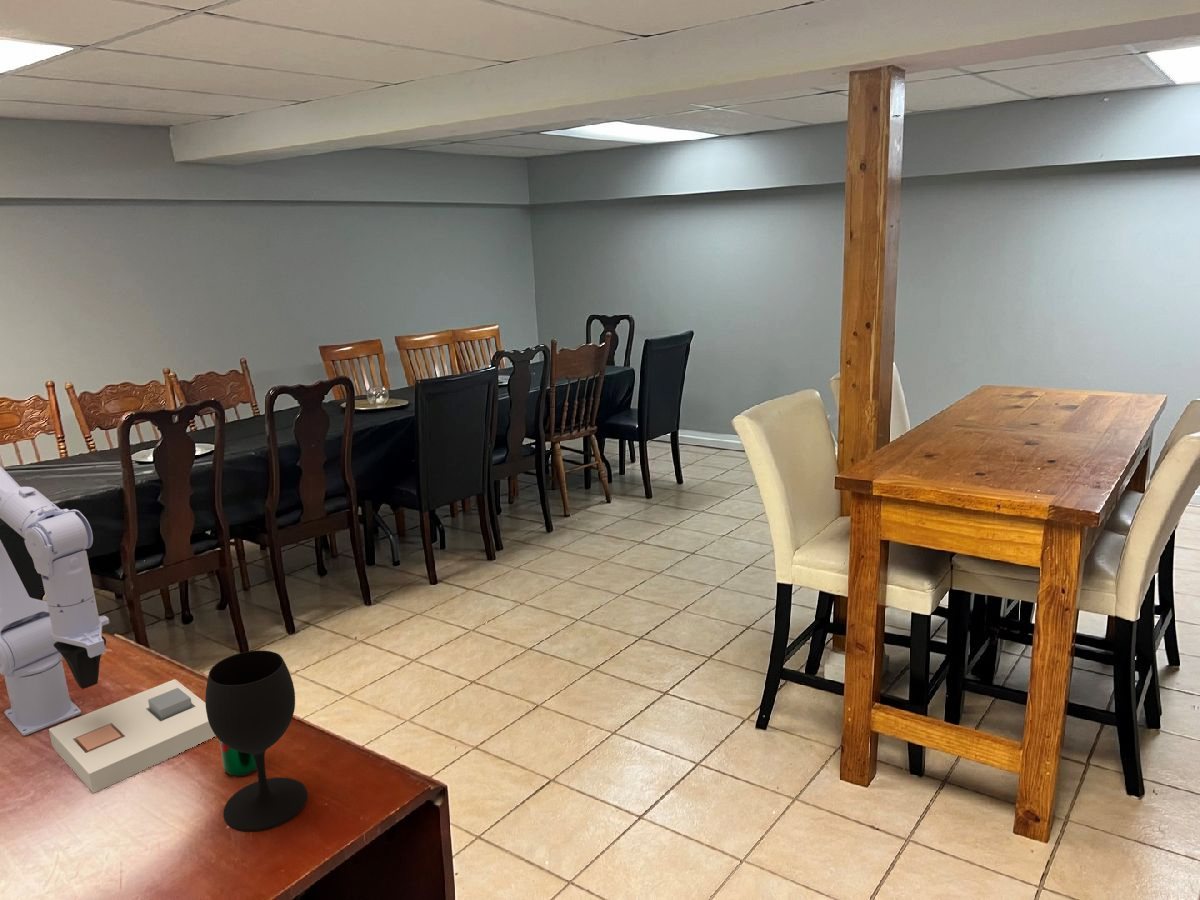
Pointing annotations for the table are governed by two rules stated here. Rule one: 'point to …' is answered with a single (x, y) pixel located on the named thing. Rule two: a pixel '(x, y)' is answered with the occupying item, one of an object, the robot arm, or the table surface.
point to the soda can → (237, 761)
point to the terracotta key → (98, 738)
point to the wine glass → (255, 733)
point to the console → (131, 737)
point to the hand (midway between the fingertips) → (88, 684)
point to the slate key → (169, 704)
